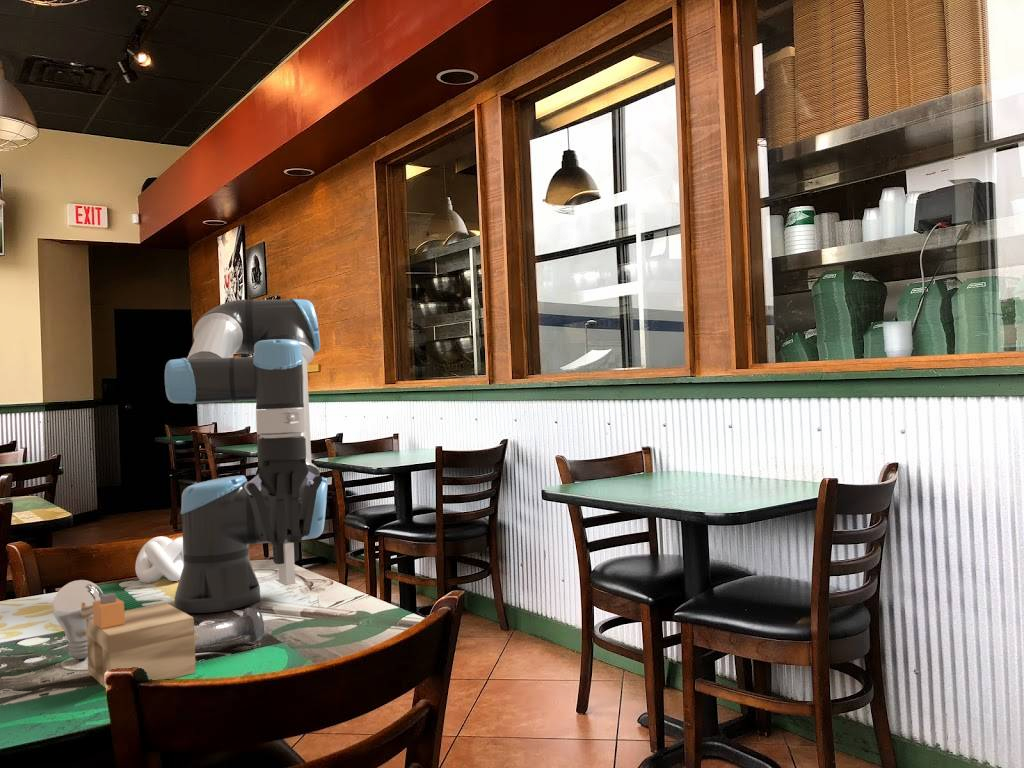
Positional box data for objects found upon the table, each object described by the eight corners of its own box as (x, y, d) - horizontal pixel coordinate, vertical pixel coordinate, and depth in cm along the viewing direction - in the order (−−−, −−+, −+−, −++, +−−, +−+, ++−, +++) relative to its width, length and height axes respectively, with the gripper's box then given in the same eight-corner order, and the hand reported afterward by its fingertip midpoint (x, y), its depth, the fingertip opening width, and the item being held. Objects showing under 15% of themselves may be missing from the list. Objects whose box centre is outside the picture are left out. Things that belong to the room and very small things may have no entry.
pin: (164, 657, 120) (163, 622, 120) (250, 636, 129) (249, 603, 129) (176, 665, 116) (175, 629, 116) (264, 643, 125) (263, 609, 125)
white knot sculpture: (120, 587, 169) (119, 544, 169) (155, 573, 181) (153, 533, 181) (170, 587, 167) (168, 543, 167) (202, 573, 179) (200, 533, 179)
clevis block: (88, 672, 116) (86, 618, 116) (167, 653, 124) (165, 602, 124) (111, 694, 107) (109, 635, 107) (195, 672, 114) (193, 617, 114)
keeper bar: (93, 623, 113) (92, 594, 113) (116, 618, 115) (115, 590, 115) (101, 628, 110) (100, 599, 110) (124, 623, 112) (123, 595, 112)
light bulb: (67, 654, 125) (64, 576, 125) (114, 650, 126) (111, 573, 126) (45, 669, 118) (42, 587, 118) (95, 666, 119) (92, 584, 119)
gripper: (251, 438, 123) (257, 594, 123) (329, 433, 132) (335, 579, 131) (232, 438, 129) (238, 587, 128) (307, 433, 137) (313, 572, 137)
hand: (287, 582), depth 130 cm, fingers closed
